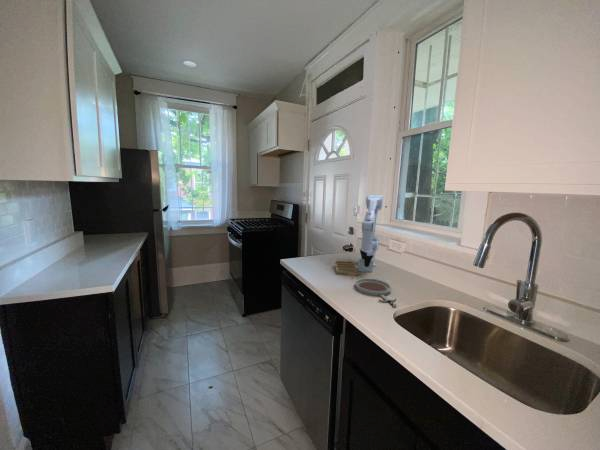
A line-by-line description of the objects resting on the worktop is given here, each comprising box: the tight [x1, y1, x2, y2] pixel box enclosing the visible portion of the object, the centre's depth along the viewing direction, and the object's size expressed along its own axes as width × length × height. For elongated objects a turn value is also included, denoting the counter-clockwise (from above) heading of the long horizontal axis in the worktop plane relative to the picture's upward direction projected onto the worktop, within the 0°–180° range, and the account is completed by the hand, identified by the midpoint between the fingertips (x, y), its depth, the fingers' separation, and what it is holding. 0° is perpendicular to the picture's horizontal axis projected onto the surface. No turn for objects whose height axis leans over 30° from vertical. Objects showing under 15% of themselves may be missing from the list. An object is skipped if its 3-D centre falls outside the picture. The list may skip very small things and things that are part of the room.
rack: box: [334, 260, 358, 276], centre depth 146 cm, size 14×11×4 cm
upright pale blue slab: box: [357, 258, 374, 273], centre depth 146 cm, size 2×8×7 cm, turn 87°
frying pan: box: [354, 277, 397, 309], centre depth 116 cm, size 17×3×28 cm
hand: (365, 264), depth 146 cm, fingers open, 7 cm apart
